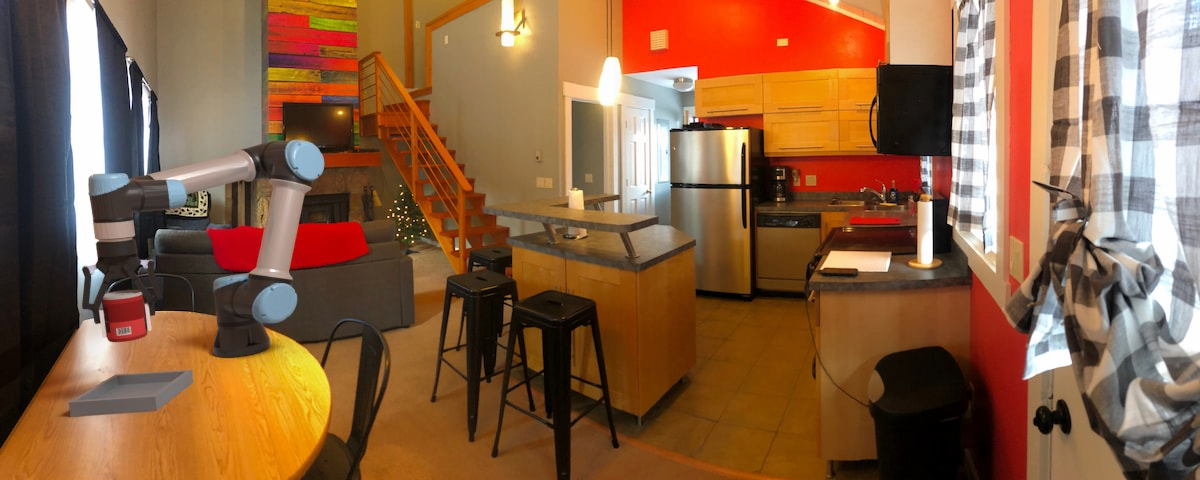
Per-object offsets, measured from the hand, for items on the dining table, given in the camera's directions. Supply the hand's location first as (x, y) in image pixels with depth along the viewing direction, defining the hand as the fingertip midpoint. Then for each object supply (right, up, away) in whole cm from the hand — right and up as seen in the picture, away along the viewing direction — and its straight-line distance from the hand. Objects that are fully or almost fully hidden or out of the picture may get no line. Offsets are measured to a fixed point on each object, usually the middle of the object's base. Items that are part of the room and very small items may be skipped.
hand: (127, 332), depth 151 cm
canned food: (0, -1, 0) cm, 1 cm away
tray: (0, -17, +3) cm, 17 cm away
